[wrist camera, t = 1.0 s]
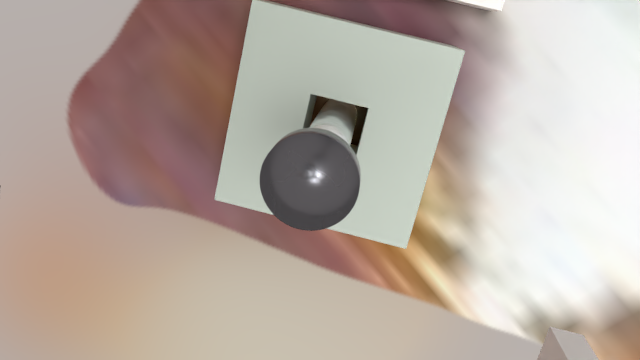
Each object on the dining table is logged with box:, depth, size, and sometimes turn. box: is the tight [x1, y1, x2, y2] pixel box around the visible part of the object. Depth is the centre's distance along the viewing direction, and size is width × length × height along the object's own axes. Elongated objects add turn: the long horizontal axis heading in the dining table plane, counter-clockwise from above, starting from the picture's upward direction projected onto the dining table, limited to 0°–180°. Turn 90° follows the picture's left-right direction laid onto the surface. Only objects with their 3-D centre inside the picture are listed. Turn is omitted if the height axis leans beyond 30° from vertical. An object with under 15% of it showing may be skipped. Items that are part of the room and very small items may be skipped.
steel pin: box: [260, 99, 361, 231], centre depth 31 cm, size 4×4×16 cm
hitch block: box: [214, 0, 465, 249], centre depth 37 cm, size 12×12×5 cm
